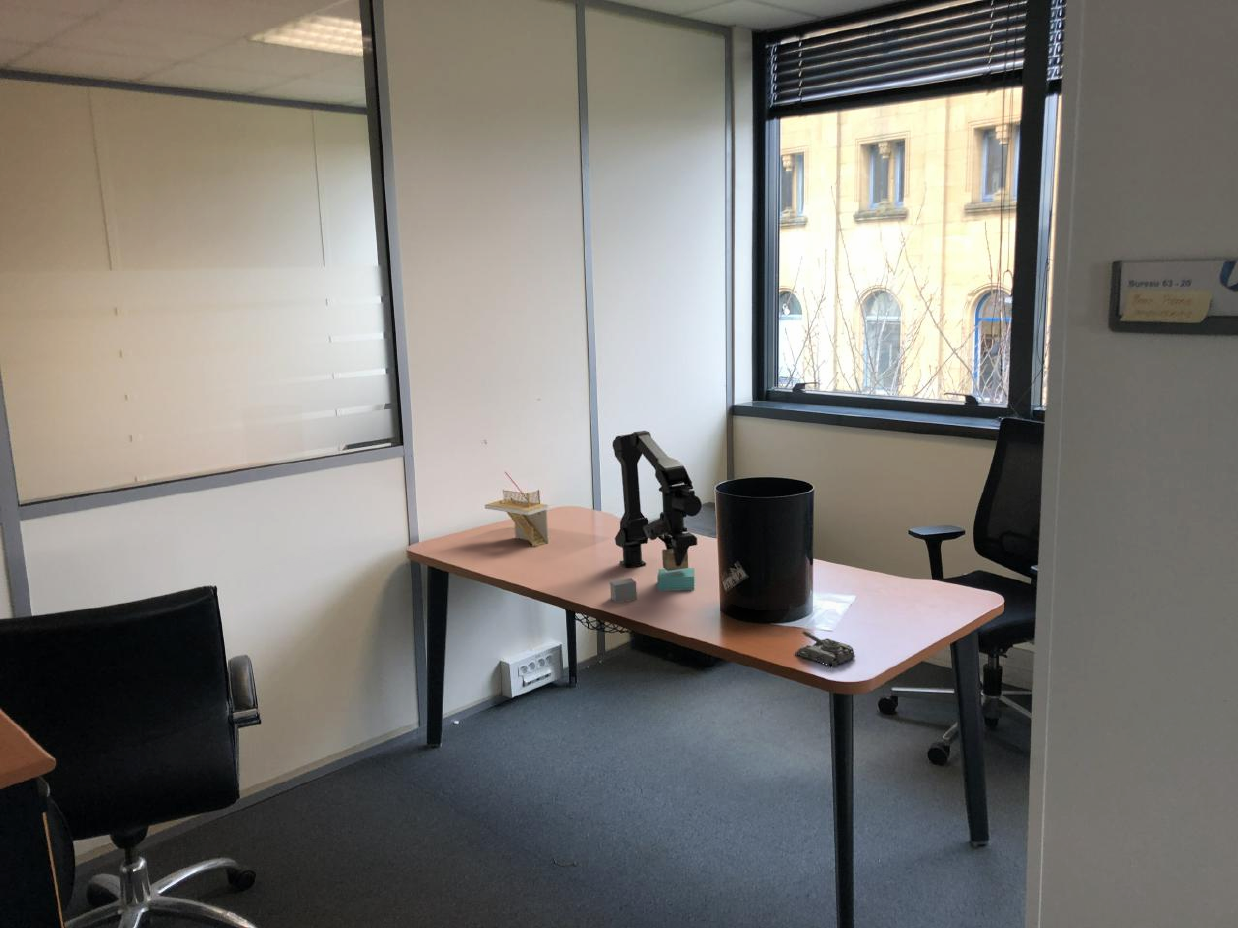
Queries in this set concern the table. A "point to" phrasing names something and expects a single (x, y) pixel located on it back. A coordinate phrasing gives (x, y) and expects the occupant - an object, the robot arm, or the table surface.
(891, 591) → the table surface
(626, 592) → the charcoal brick
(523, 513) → the architectural model
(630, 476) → the robot arm
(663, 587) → the teal brick
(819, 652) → the tank toy
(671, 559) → the walnut brick
